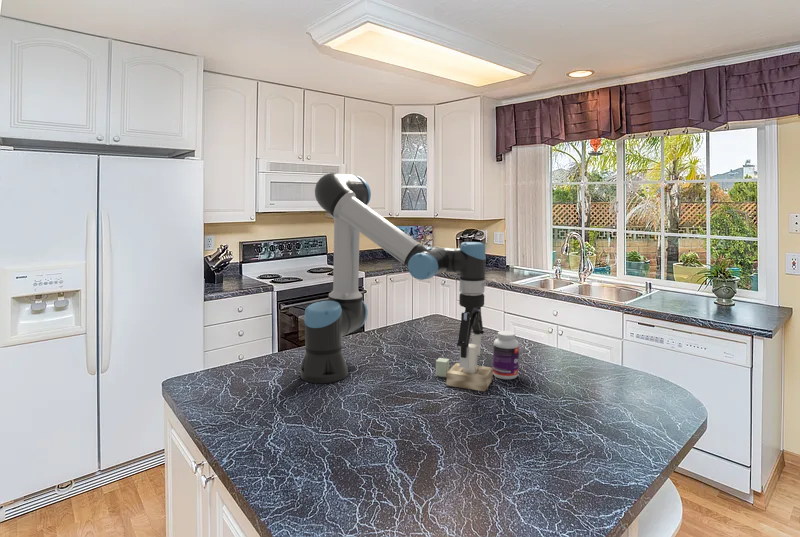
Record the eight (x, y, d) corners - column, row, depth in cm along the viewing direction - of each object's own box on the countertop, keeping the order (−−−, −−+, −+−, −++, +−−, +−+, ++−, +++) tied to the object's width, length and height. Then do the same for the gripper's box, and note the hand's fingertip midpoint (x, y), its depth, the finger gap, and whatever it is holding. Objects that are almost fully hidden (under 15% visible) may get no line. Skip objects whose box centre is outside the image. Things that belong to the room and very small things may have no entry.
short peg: (435, 375, 156) (435, 361, 155) (439, 372, 159) (439, 357, 159) (445, 377, 155) (446, 362, 154) (449, 373, 158) (449, 359, 157)
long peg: (462, 383, 149) (463, 346, 148) (465, 379, 153) (466, 343, 151) (473, 385, 148) (474, 347, 146) (476, 381, 151) (477, 344, 149)
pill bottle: (518, 381, 151) (520, 337, 149) (492, 379, 153) (493, 335, 151) (517, 372, 159) (519, 330, 157) (492, 370, 161) (493, 328, 158)
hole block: (446, 385, 148) (446, 372, 148) (456, 374, 157) (456, 362, 157) (484, 391, 143) (485, 378, 143) (492, 379, 153) (492, 367, 152)
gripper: (473, 302, 133) (471, 375, 137) (493, 287, 156) (491, 350, 159) (447, 299, 136) (446, 371, 139) (470, 285, 159) (469, 347, 162)
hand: (470, 360), depth 149 cm, fingers open, 13 cm apart
